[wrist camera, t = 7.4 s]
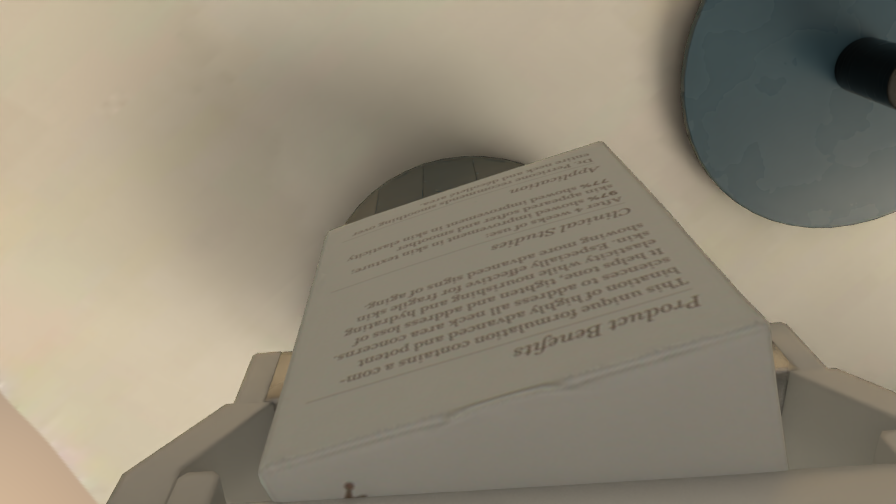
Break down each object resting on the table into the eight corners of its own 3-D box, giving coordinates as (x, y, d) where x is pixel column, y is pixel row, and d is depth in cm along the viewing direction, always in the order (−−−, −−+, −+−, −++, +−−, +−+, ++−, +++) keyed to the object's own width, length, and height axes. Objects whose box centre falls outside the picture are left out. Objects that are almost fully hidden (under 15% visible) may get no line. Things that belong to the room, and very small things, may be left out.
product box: (416, 445, 17) (411, 777, 10) (321, 222, 15) (234, 472, 8) (667, 376, 16) (832, 682, 10) (611, 131, 14) (782, 317, 7)
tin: (401, 103, 32) (394, 167, 24) (666, 232, 35) (744, 330, 27) (284, 349, 38) (243, 475, 29) (524, 442, 41) (551, 581, 32)
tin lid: (823, -213, 28) (903, -240, 23) (1101, -22, 31) (1219, -13, 26) (611, 137, 33) (641, 171, 29) (865, 267, 37) (929, 316, 32)
